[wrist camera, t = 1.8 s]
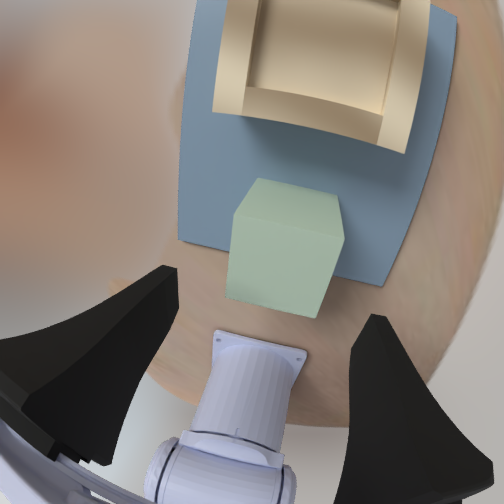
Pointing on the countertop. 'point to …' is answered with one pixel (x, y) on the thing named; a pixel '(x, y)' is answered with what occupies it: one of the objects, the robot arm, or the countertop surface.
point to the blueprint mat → (305, 156)
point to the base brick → (325, 65)
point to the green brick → (284, 247)
